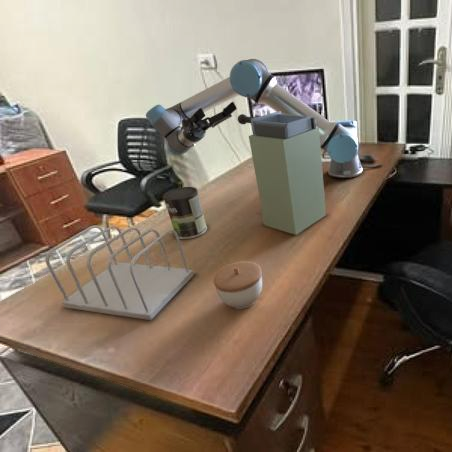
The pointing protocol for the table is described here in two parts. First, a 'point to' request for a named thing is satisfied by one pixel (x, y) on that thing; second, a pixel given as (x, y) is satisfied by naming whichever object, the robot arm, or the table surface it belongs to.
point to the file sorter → (125, 280)
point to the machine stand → (288, 177)
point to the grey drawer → (280, 122)
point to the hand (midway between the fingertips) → (219, 108)
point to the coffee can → (185, 212)
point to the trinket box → (239, 284)
